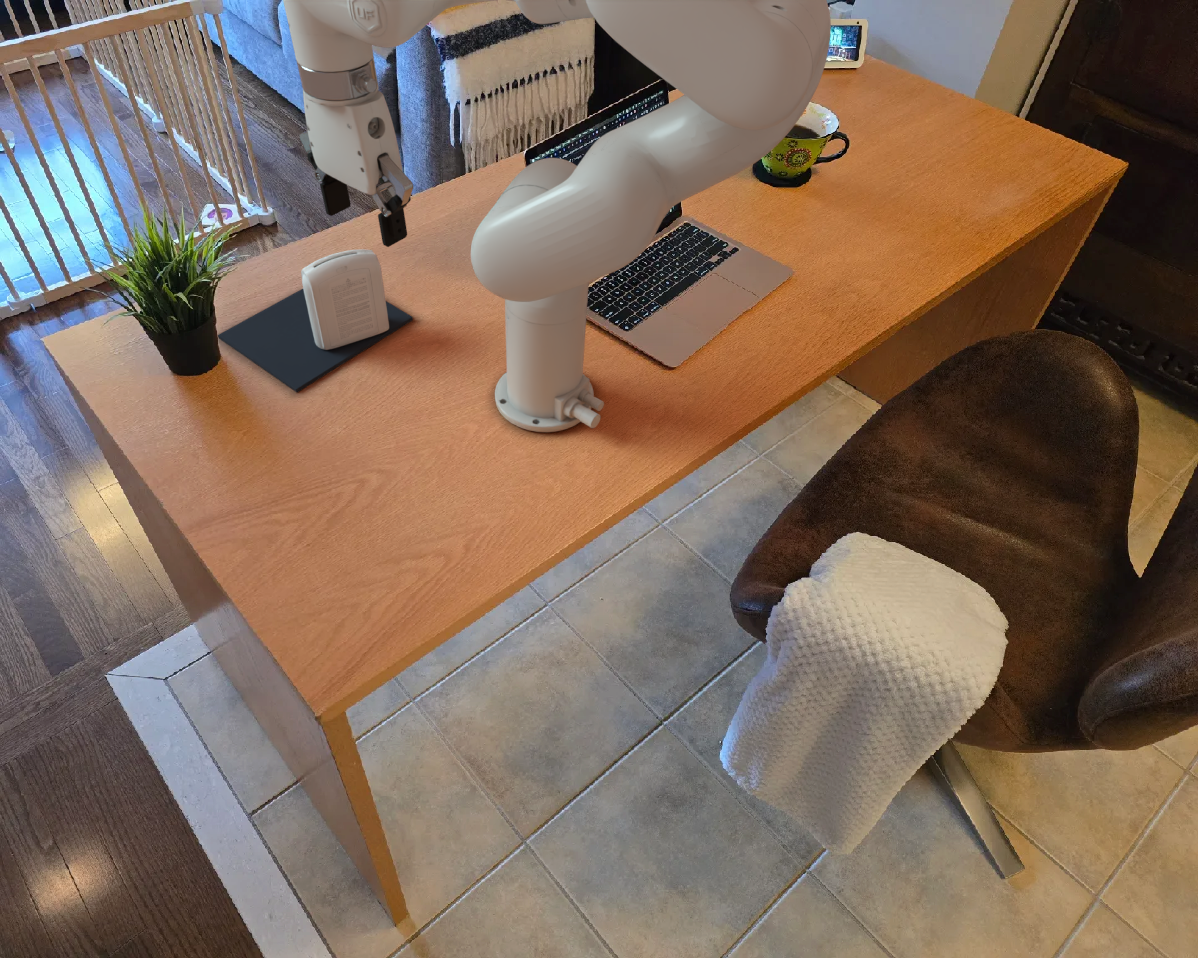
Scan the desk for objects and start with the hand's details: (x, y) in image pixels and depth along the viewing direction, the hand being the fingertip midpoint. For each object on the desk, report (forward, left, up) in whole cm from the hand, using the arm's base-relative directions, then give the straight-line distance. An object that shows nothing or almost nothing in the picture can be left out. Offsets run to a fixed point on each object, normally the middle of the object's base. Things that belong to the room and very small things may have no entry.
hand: (366, 225), depth 101 cm
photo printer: (+6, 0, -20) cm, 21 cm away
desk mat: (+11, +2, -20) cm, 23 cm away
